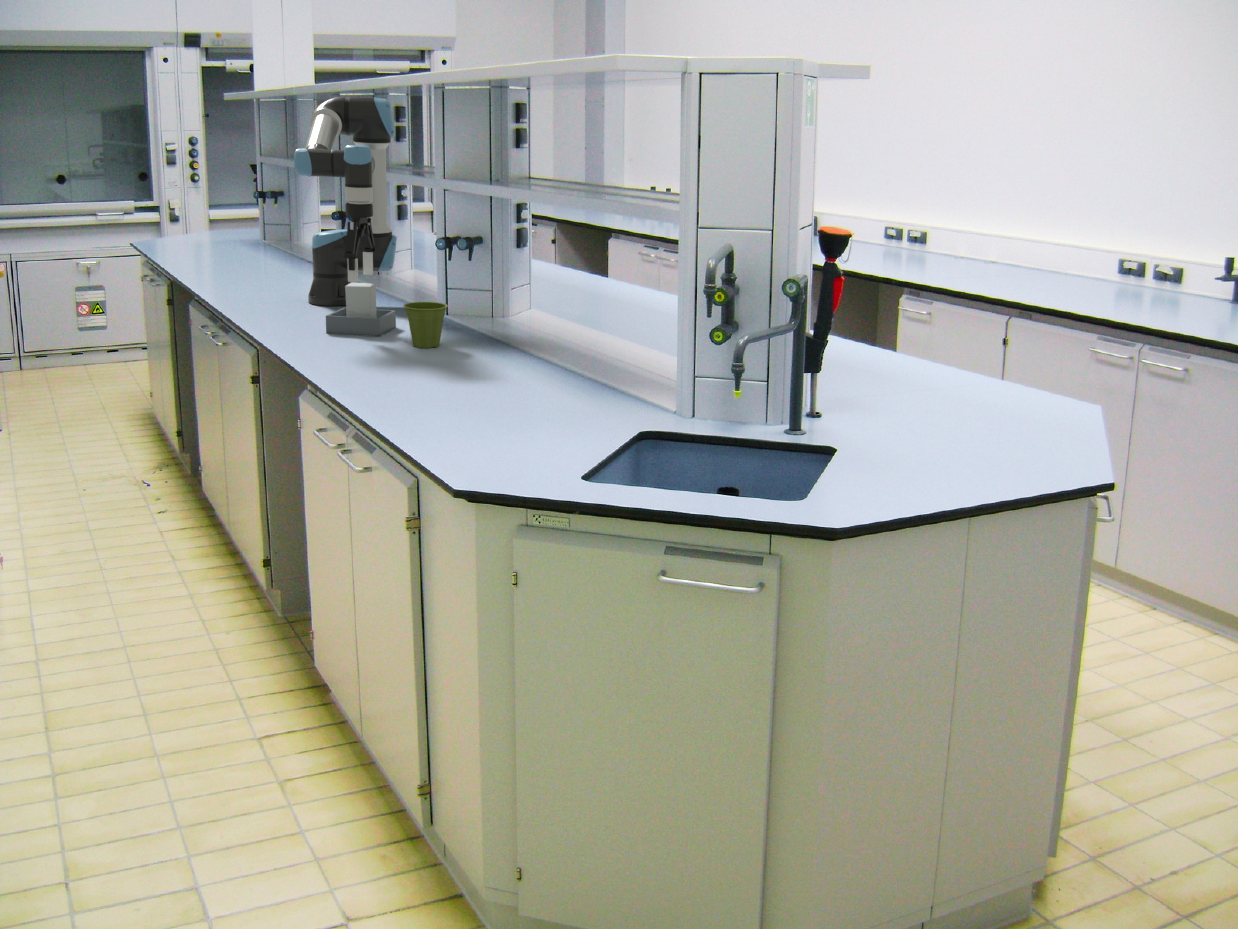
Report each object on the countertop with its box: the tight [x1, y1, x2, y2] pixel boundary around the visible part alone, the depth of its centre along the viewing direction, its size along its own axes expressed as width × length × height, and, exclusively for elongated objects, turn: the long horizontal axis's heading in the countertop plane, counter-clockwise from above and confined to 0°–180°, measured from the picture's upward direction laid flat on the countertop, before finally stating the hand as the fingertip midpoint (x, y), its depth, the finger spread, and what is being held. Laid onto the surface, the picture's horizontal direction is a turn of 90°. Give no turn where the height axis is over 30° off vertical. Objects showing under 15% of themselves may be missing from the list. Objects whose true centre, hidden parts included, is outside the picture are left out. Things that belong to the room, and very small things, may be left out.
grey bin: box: [325, 307, 397, 337], centre depth 338 cm, size 16×16×5 cm
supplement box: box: [345, 282, 377, 318], centre depth 337 cm, size 7×7×13 cm
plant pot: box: [402, 301, 449, 349], centre depth 319 cm, size 12×12×11 cm
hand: (360, 278), depth 335 cm, fingers open, 13 cm apart
